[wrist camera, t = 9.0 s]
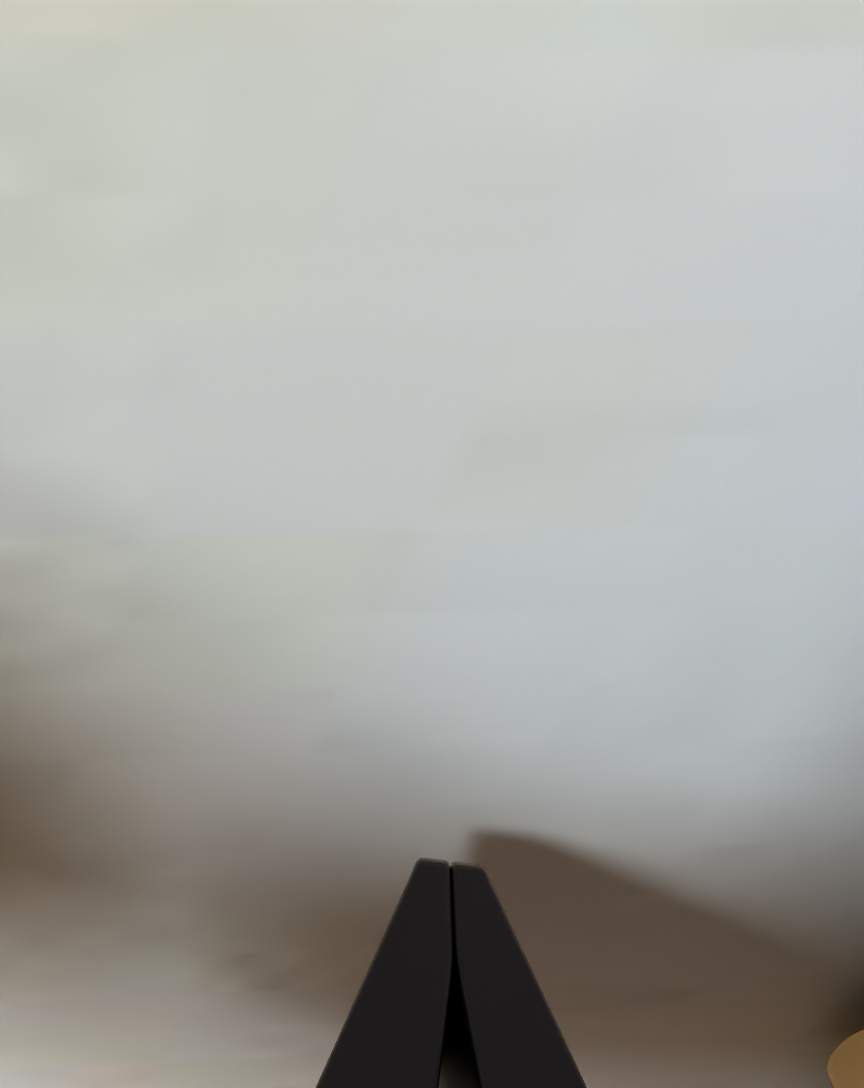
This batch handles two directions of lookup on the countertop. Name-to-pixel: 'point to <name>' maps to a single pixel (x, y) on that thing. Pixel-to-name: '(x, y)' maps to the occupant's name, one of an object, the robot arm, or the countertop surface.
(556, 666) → the countertop surface
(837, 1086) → the gate
